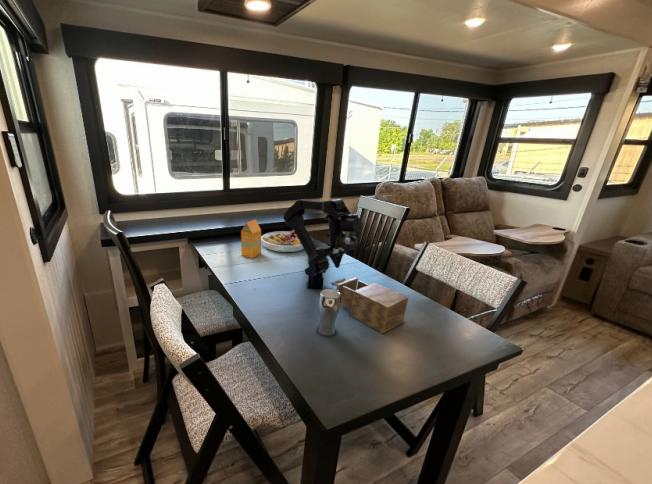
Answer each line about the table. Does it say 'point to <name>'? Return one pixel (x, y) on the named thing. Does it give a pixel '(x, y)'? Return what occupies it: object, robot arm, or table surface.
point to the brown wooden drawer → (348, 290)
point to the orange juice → (251, 239)
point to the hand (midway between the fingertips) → (337, 267)
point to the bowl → (282, 241)
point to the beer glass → (328, 311)
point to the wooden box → (379, 307)
